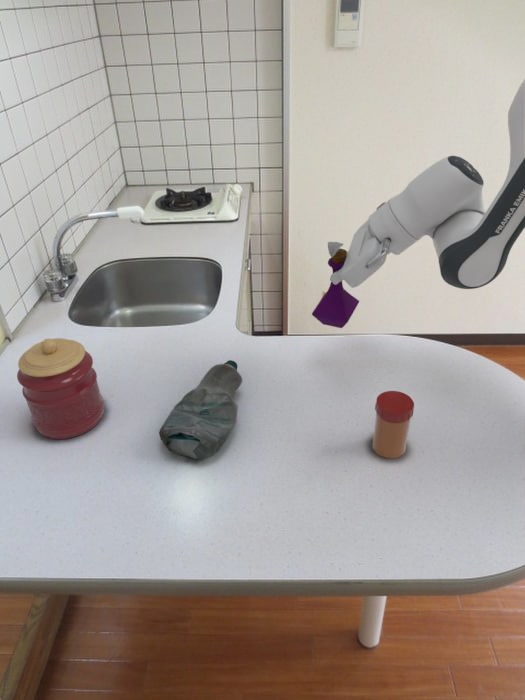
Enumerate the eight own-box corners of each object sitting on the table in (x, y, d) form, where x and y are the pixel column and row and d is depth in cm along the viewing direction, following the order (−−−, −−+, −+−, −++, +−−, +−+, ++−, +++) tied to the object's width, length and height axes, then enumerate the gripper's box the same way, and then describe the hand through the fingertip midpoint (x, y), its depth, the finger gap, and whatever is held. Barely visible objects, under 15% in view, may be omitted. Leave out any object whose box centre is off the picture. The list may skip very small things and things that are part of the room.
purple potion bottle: (324, 307, 111) (324, 229, 99) (359, 313, 108) (362, 234, 97) (311, 327, 106) (309, 248, 94) (347, 335, 103) (349, 254, 92)
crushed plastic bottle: (218, 472, 88) (266, 382, 107) (211, 440, 84) (262, 353, 103) (150, 459, 92) (208, 375, 111) (140, 429, 88) (202, 347, 107)
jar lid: (406, 398, 90) (407, 389, 88) (417, 422, 85) (419, 413, 83) (371, 400, 89) (372, 391, 88) (380, 424, 84) (381, 415, 83)
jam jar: (399, 434, 94) (406, 392, 89) (409, 457, 89) (416, 414, 84) (369, 437, 94) (373, 395, 88) (376, 459, 89) (382, 416, 84)
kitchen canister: (100, 389, 108) (81, 314, 98) (110, 428, 98) (90, 350, 88) (33, 406, 104) (6, 330, 94) (36, 449, 94) (7, 369, 84)
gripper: (399, 266, 86) (337, 312, 94) (405, 222, 103) (352, 264, 110) (374, 238, 85) (313, 287, 93) (384, 198, 101) (331, 243, 109)
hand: (334, 274), depth 102 cm, fingers closed on purple potion bottle, 4 cm apart
